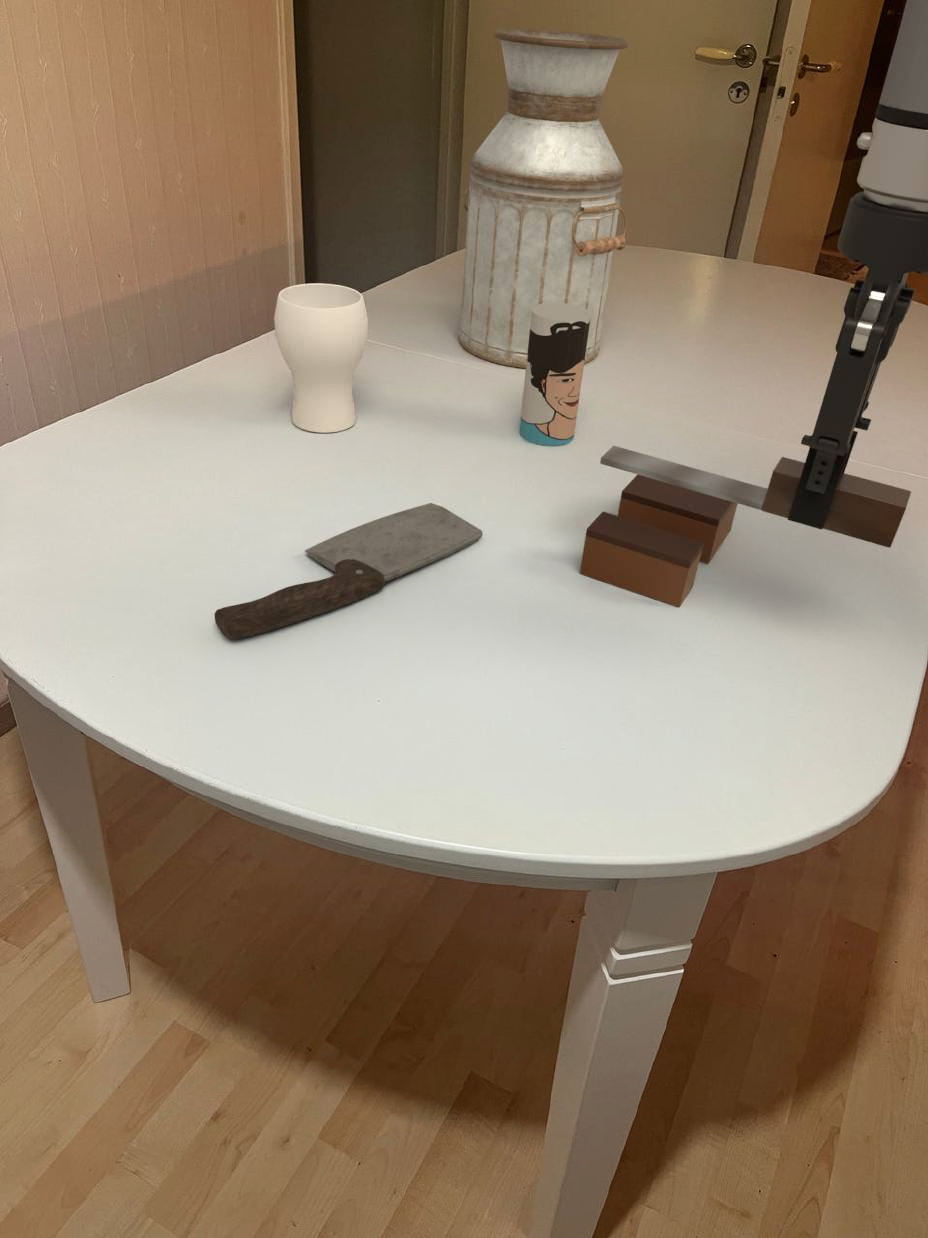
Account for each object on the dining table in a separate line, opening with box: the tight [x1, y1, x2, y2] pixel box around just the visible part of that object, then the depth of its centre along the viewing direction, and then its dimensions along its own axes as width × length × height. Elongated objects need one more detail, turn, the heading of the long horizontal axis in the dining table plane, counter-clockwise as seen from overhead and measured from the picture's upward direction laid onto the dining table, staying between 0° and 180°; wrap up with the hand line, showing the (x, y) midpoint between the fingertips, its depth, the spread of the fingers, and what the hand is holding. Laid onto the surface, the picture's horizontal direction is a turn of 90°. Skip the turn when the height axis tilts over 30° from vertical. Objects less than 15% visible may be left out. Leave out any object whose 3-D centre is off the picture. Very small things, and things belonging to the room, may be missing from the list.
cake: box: [617, 474, 738, 565], centre depth 94 cm, size 10×8×5 cm
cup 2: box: [518, 303, 591, 447], centre depth 109 cm, size 7×7×15 cm
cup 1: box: [273, 282, 369, 434], centre depth 108 cm, size 11×11×15 cm
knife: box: [599, 445, 912, 549], centre depth 75 cm, size 24×3×4 cm, turn 62°
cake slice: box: [579, 511, 704, 608], centre depth 86 cm, size 10×4×5 cm, turn 61°
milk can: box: [457, 28, 629, 369], centre depth 128 cm, size 24×21×40 cm
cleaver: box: [214, 502, 484, 640], centre depth 85 cm, size 29×10×2 cm, turn 137°
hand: (810, 511), depth 74 cm, fingers closed on knife, 3 cm apart
